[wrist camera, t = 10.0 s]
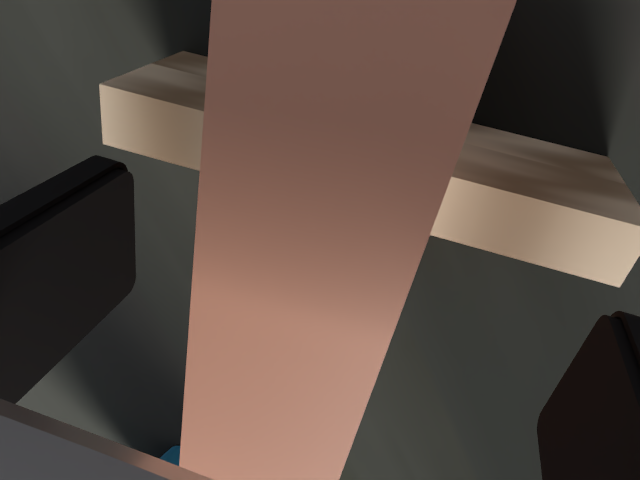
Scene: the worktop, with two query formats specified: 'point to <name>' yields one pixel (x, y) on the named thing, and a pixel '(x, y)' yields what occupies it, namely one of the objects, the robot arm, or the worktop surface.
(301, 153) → the terracotta plate
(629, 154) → the worktop surface
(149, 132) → the slot plate base
